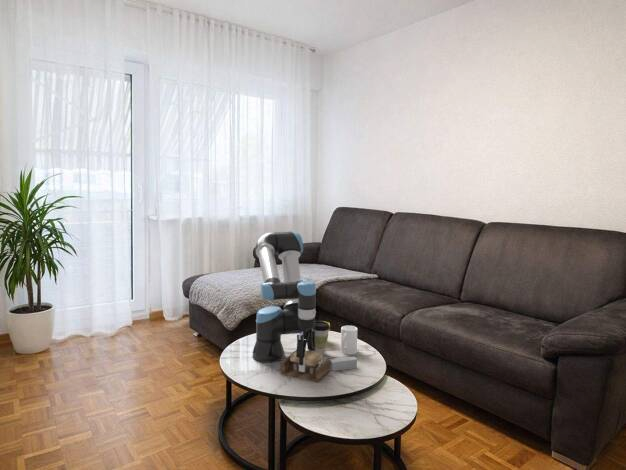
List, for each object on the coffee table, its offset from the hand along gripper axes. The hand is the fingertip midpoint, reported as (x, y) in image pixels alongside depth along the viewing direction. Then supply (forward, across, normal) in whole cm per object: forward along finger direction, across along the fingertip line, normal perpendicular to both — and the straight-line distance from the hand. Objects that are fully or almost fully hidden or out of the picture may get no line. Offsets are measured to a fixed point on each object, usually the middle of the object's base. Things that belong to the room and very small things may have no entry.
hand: (305, 368), depth 186 cm
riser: (+2, +12, -13) cm, 18 cm away
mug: (+2, +30, -8) cm, 31 cm away
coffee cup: (+2, +22, +4) cm, 22 cm away
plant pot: (+2, +37, +10) cm, 38 cm away
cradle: (+2, 0, 0) cm, 2 cm away
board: (-3, 0, 0) cm, 3 cm away
